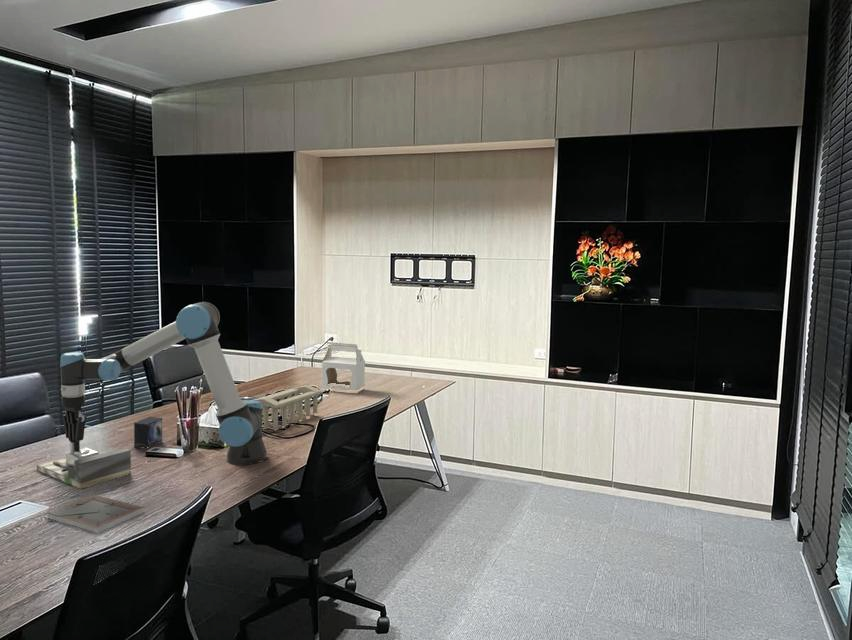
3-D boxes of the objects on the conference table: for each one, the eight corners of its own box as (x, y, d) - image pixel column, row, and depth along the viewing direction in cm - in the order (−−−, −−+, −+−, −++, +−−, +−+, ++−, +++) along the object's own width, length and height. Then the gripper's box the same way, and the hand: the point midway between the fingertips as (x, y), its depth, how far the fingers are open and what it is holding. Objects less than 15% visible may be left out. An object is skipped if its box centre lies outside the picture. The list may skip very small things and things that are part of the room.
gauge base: (131, 474, 229) (130, 450, 228) (80, 489, 213) (79, 463, 212) (86, 457, 245) (85, 434, 244) (35, 470, 230) (34, 446, 229)
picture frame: (47, 520, 191) (97, 535, 182) (47, 512, 191) (97, 527, 182) (95, 501, 206) (144, 514, 197) (95, 493, 206) (143, 506, 197)
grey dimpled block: (98, 465, 230) (98, 450, 230) (62, 475, 220) (62, 460, 219) (86, 460, 235) (86, 446, 234) (51, 470, 224) (50, 455, 224)
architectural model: (275, 433, 284) (276, 401, 283) (249, 428, 291) (249, 396, 289) (321, 416, 316) (321, 387, 314) (295, 411, 322) (296, 383, 321)
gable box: (321, 391, 369) (321, 343, 366) (330, 386, 382) (331, 340, 379) (356, 394, 364) (357, 346, 361) (364, 389, 376) (365, 343, 373)
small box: (147, 449, 257) (147, 424, 256) (133, 447, 258) (132, 422, 257) (163, 441, 267) (163, 417, 266) (149, 440, 269) (149, 416, 267)
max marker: (81, 477, 218) (81, 468, 218) (74, 479, 216) (74, 470, 216) (75, 474, 220) (74, 466, 220) (68, 476, 218) (67, 468, 218)
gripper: (53, 394, 230) (55, 457, 232) (72, 399, 223) (74, 464, 225) (74, 390, 236) (75, 452, 238) (93, 396, 229) (95, 459, 231)
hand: (75, 458), depth 232 cm, fingers closed
